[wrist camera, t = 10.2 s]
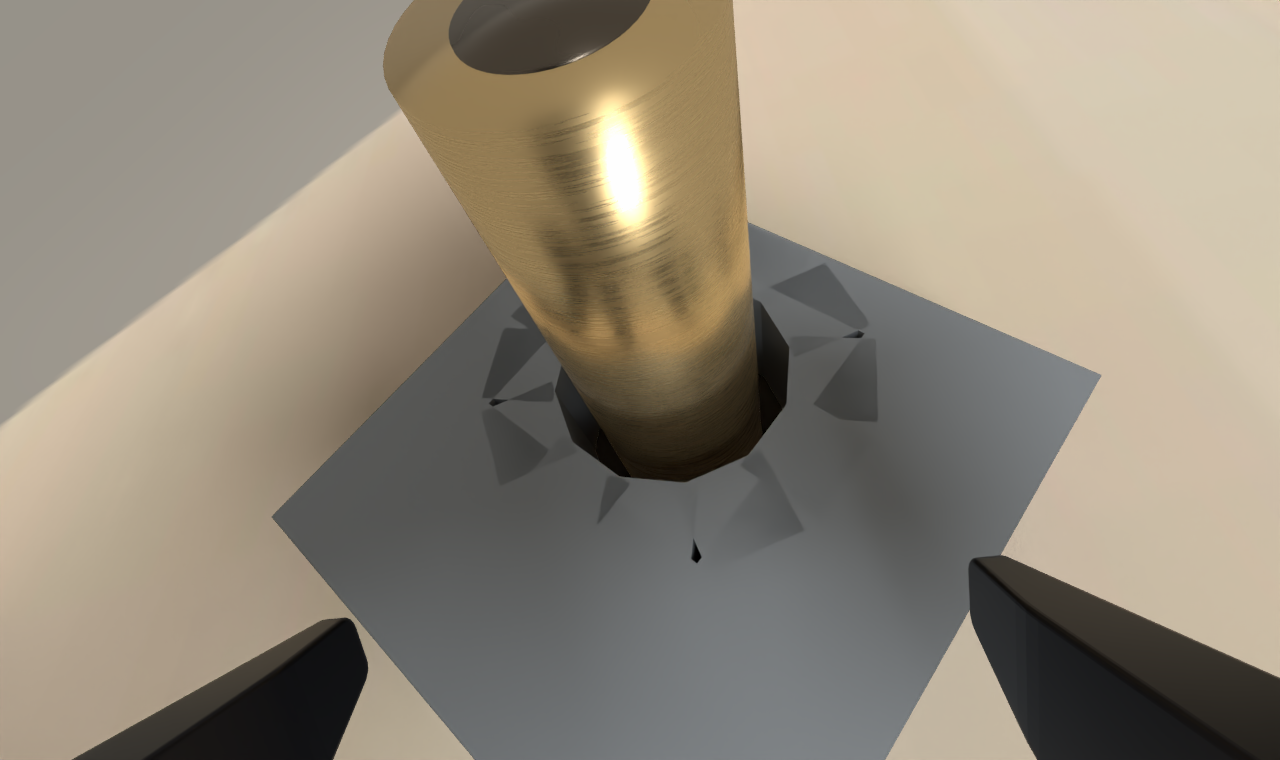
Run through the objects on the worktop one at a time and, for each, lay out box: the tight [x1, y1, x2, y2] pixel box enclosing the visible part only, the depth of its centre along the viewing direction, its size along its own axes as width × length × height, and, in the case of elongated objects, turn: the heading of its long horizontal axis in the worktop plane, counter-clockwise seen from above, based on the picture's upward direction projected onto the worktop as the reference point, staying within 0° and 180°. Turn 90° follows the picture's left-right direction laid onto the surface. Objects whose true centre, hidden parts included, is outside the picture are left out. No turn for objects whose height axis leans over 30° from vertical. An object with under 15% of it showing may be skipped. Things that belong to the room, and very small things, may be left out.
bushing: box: [383, 0, 762, 483], centre depth 13 cm, size 4×4×13 cm
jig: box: [272, 223, 1101, 760], centre depth 16 cm, size 14×14×4 cm
